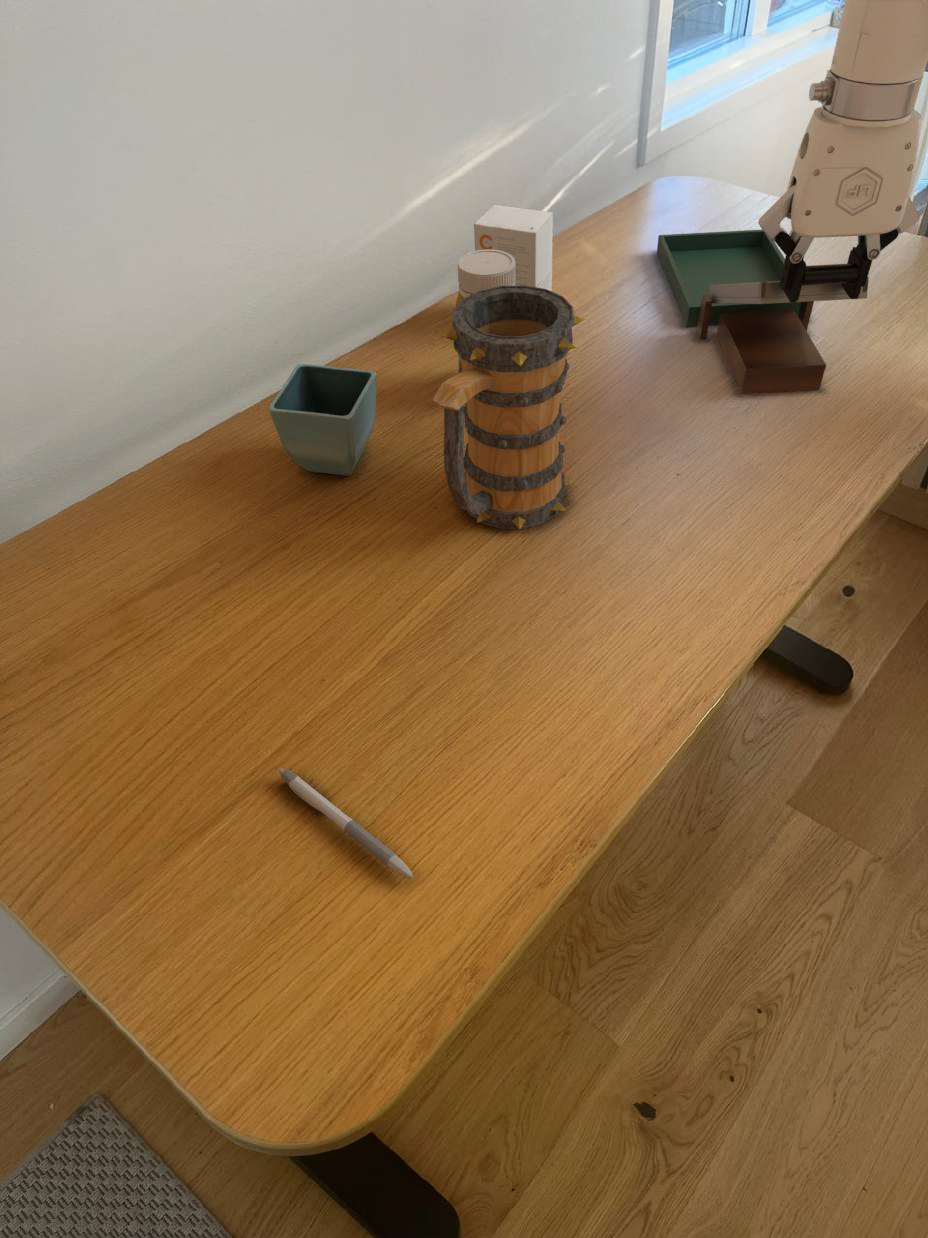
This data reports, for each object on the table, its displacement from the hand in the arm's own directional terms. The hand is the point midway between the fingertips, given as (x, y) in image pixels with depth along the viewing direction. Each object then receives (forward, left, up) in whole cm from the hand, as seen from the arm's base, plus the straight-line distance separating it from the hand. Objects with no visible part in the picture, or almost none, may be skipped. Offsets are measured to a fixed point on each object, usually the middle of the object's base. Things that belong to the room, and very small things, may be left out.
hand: (820, 292), depth 92 cm
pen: (-11, +68, -14) cm, 70 cm away
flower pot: (+27, +43, -14) cm, 53 cm away
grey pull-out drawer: (+6, -5, -5) cm, 10 cm away
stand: (+9, -7, -14) cm, 18 cm away
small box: (+37, +8, -14) cm, 40 cm away
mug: (+9, +35, -14) cm, 39 cm away
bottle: (+27, +21, -14) cm, 37 cm away
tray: (+24, -19, -14) cm, 33 cm away
